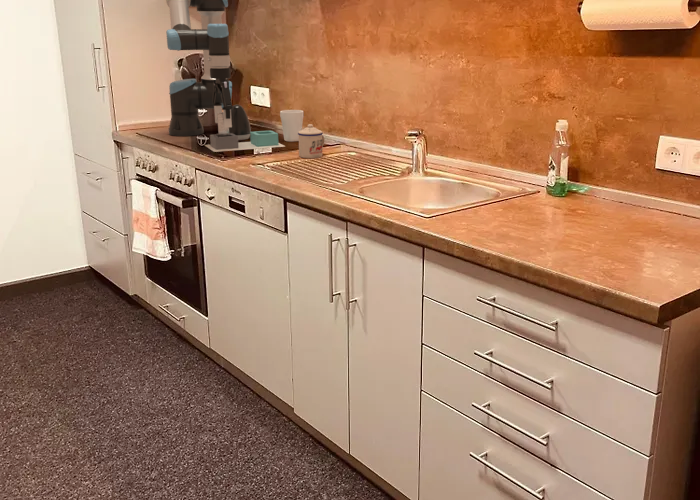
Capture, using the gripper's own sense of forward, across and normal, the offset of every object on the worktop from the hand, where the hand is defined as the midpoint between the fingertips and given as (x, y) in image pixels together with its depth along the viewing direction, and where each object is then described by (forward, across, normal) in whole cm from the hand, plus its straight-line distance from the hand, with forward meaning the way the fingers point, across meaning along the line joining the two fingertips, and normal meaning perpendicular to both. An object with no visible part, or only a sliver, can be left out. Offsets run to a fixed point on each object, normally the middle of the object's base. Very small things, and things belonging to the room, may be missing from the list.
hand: (223, 125), depth 263 cm
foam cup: (+10, -5, +30) cm, 32 cm away
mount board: (+10, 0, +8) cm, 13 cm away
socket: (+8, 0, +16) cm, 18 cm away
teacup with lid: (+10, +23, +28) cm, 37 cm away
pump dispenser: (+10, -18, +10) cm, 23 cm away
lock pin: (+8, 0, 0) cm, 8 cm away
